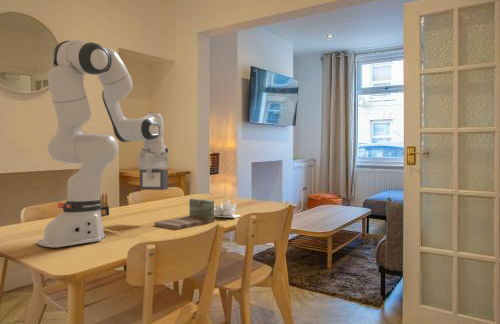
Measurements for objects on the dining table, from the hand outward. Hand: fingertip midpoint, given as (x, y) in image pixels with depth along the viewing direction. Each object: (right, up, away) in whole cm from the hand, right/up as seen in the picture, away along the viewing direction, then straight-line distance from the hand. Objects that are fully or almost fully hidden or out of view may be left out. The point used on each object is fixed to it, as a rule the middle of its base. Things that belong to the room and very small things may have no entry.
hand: (153, 179), depth 166 cm
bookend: (+16, -19, -7) cm, 26 cm away
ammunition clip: (-28, -19, +7) cm, 35 cm away
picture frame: (0, -5, 0) cm, 5 cm away
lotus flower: (+32, -19, +10) cm, 38 cm away
